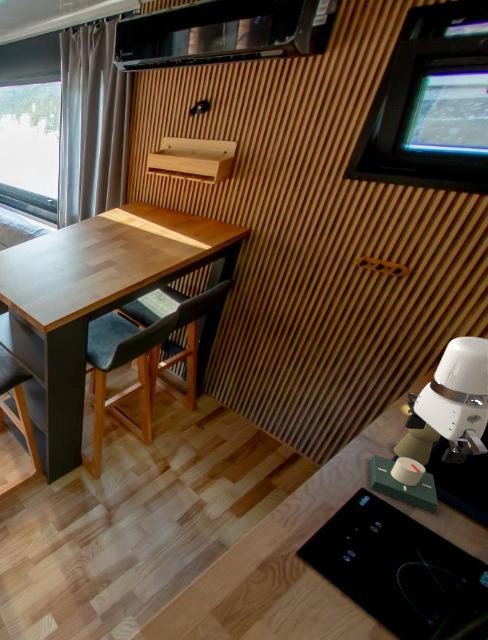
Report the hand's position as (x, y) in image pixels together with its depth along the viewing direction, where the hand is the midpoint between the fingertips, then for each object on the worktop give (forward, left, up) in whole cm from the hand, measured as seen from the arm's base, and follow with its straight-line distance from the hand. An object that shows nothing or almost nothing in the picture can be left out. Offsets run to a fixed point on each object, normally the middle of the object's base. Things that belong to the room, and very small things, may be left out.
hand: (431, 444), depth 85 cm
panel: (+1, 0, -16) cm, 16 cm away
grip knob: (+1, 0, -13) cm, 13 cm away
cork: (-1, -13, -16) cm, 21 cm away
